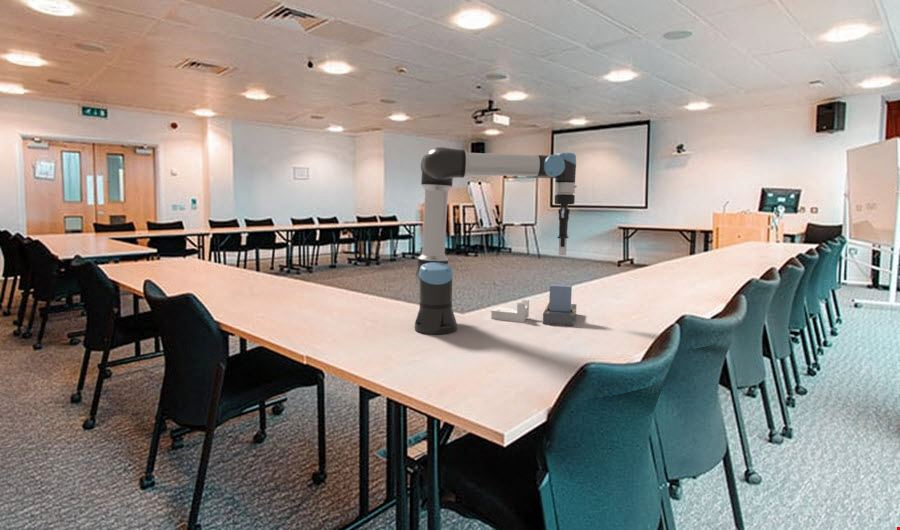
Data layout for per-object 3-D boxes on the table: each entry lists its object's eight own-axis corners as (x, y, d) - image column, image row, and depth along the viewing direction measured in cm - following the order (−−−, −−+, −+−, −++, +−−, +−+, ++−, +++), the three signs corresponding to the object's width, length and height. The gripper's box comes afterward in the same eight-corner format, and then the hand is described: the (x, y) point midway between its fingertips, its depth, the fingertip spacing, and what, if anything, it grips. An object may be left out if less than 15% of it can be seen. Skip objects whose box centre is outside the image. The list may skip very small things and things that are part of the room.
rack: (542, 323, 202) (543, 312, 201) (548, 312, 222) (548, 302, 221) (573, 326, 198) (573, 314, 198) (576, 314, 219) (576, 303, 218)
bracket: (528, 318, 211) (529, 300, 210) (523, 322, 204) (523, 303, 203) (497, 315, 216) (497, 297, 215) (491, 319, 210) (491, 300, 209)
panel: (548, 318, 207) (549, 285, 205) (549, 317, 210) (550, 284, 209) (569, 320, 205) (571, 286, 203) (570, 318, 208) (571, 285, 206)
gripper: (573, 194, 199) (570, 257, 202) (575, 194, 211) (573, 253, 214) (553, 193, 201) (550, 256, 204) (556, 194, 213) (554, 252, 216)
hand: (562, 254), depth 209 cm, fingers closed
